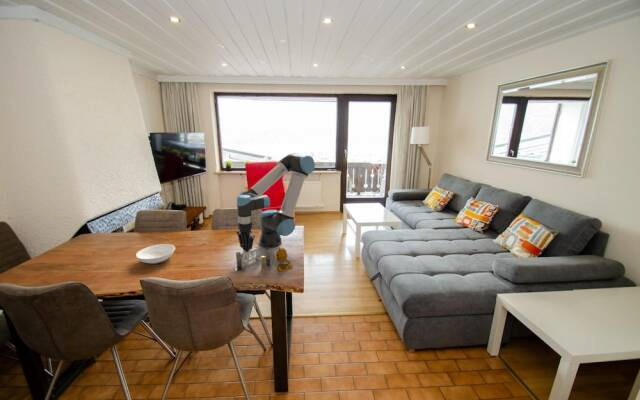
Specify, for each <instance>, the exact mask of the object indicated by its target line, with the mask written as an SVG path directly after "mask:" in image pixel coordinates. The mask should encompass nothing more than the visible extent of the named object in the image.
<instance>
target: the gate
mask: <svg viewBox="0 0 640 400" xmlns="http://www.w3.org/2000/svg"><path fill="white" fill-rule="evenodd" d="M254 252H255V255H254ZM250 254H251V255H250ZM246 255H247V260H244V256H246ZM250 256H251V257H250ZM255 259H256V260H257V261H258V260H259V259H260V253H259V247H254V248H252V249H250V250H249V251H248V252H246V253H242V254H241V266H244V267H245V266H246V264H247V263H250V262H252V261H254V260H255Z"/></svg>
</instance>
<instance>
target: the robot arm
mask: <svg viewBox="0 0 640 400" xmlns="http://www.w3.org/2000/svg"><path fill="white" fill-rule="evenodd" d="M315 167H316V163H315V160H314V158H313V157H312V156H311V155H309V154H306V153H305V154H304V153H303V154H301V153H296V152H294V153H289V154H287V155H286V156H284V157H282V158H281V159H280V160H279V161H278V162H276V166H274V167H273V168H272V169H271V170H270V171H268V173H267V174H265V175H264V176H263V177H262V178H260V179H259V180H258V181H257V182H256V183H255V184H254V185H252V186H251V187H250V188H249V189H248V190H244V191H241V192H240V193H239V195H238V196H237V198H236V208H237V209H236V210H237V226H238V230H237V231H236V235H237V237H238V243H239V246H240V248H242V251H243V253H242V254H244V253H246V252H248V251H250V250H252V249H253V245H254V239H255V237H256V235H254V234H252V233H253V232H252V228H253V223H252V221H253V217H252V211H257V210H261V209H266V208H268V207H270V205H271V200H270V197H269V196H268V195H266V194H264V193H265V192H266V191H268V190H269V189H270V188H271V186H273V185H274V184H275V183H277V181H279V180H280V178H282V177H283V176H284V175H287V174H288V173H289V172H290V173H291V177H290V180H289V181H288V182H289V183H288V185H287V189H286V192H285V194H284V198H283V201H282V204H281V207H280V210H277V209H267V210H264V211H261V212H260V217H259V218H260V231H261V232H260V237H259V239H258V244H259V245H260V246H261V247H263V248H264V247H265V248H273V247H277V246H278V247H279V245H281V244H282V237H281V236H283V237H288V236H290V235H291V234H292V233H293V232H294V230H295V229H296V222H295V220H294V219H295V216H294V212H295V209H296V207H297V203H298V200H299V197H300V194H301V191H302V188H303V184H304V183H305V182H304V181H305V179H308V177H309V175H310V174H312V173H313V172H314V171H315ZM245 260H247V255H246V256H244V261H245Z"/></svg>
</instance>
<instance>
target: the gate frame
mask: <svg viewBox="0 0 640 400" xmlns="http://www.w3.org/2000/svg"><path fill="white" fill-rule="evenodd" d="M235 257H236V266H235V269H234V272H235V273H239V272H244V270H245V268H244V267H245V266H242V265H241V252H240V251H239V252H238V251H237V252H236V253H235ZM260 263H261V264H260V265H261V269H266V268H270V267H271V250H270V249H268V248H267V249H265V255H262V256H261V255H260Z"/></svg>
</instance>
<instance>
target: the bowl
mask: <svg viewBox="0 0 640 400" xmlns="http://www.w3.org/2000/svg"><path fill="white" fill-rule="evenodd" d="M175 250H176V246H175V245H173V244H171V243H160V244H155V245H149V246H148V247H144V248H142V249H140V250H139V251H137V252H136V254H135V257H136V258H137V259H138V260H139V261H140V262H142V263H147V264H159V263H163V262H164V261H166V260H168V259H169V258H170V257H172V256H173V254H174V251H175Z"/></svg>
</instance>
